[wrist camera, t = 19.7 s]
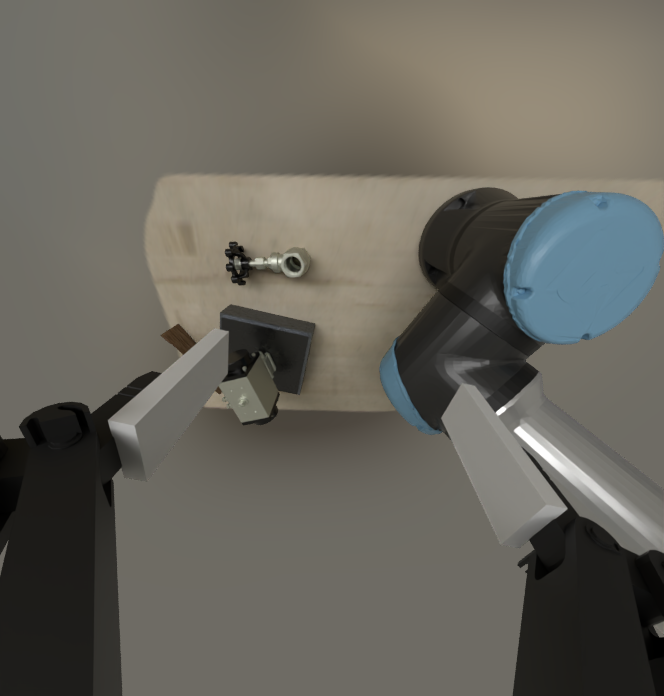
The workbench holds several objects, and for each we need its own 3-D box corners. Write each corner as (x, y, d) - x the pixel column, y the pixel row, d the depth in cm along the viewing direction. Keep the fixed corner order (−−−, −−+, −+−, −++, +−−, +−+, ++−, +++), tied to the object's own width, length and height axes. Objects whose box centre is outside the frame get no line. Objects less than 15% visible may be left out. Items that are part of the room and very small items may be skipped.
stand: (315, 323, 47) (311, 334, 42) (302, 381, 53) (299, 396, 49) (230, 304, 46) (218, 313, 41) (228, 366, 52) (218, 380, 48)
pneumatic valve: (263, 330, 42) (236, 369, 32) (288, 384, 48) (272, 432, 37) (235, 338, 43) (199, 378, 33) (262, 390, 49) (239, 438, 38)
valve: (310, 236, 40) (238, 239, 41) (304, 240, 34) (220, 244, 35) (313, 278, 43) (246, 280, 44) (308, 287, 37) (231, 290, 38)
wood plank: (173, 326, 49) (156, 337, 44) (181, 322, 48) (164, 332, 44) (223, 383, 55) (213, 397, 50) (230, 379, 54) (221, 394, 50)
